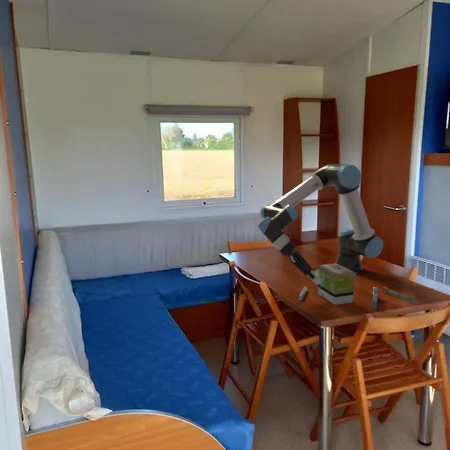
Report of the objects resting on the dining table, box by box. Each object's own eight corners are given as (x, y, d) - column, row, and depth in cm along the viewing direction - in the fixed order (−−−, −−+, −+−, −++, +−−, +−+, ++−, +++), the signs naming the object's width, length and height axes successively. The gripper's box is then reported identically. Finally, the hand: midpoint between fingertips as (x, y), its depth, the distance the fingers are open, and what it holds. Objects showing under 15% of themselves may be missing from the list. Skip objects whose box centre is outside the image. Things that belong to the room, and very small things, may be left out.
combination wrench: (381, 285, 202) (414, 297, 184) (384, 285, 202) (416, 297, 184) (381, 293, 203) (414, 306, 184) (383, 292, 203) (416, 305, 185)
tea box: (316, 294, 199) (317, 264, 197) (335, 292, 202) (336, 262, 200) (334, 305, 185) (335, 273, 183) (353, 302, 188) (355, 271, 186)
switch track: (304, 289, 206) (304, 280, 205) (377, 297, 195) (377, 287, 194) (298, 300, 191) (298, 290, 190) (376, 309, 180) (377, 298, 179)
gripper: (281, 247, 204) (315, 283, 201) (275, 253, 192) (311, 292, 189) (293, 237, 202) (327, 274, 199) (287, 243, 190) (323, 282, 187)
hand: (319, 283), depth 194 cm, fingers closed
